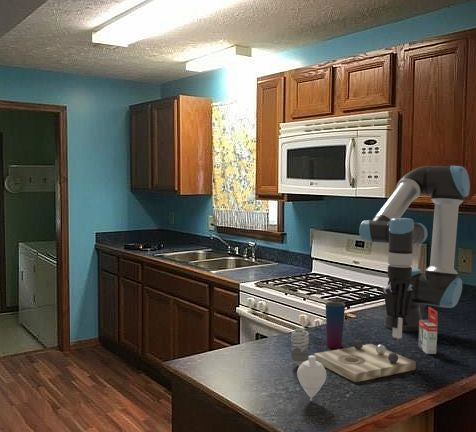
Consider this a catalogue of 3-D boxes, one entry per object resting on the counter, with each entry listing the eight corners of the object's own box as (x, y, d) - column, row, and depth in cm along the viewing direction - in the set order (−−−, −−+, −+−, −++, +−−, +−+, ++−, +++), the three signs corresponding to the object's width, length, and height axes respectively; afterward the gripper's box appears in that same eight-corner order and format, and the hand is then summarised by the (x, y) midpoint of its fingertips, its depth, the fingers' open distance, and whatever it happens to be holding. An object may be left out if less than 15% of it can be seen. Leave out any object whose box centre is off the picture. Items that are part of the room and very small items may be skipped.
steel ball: (381, 352, 174) (381, 342, 174) (388, 355, 171) (388, 345, 171) (373, 353, 172) (373, 343, 172) (380, 356, 170) (380, 346, 169)
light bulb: (287, 364, 168) (287, 327, 167) (302, 362, 170) (303, 325, 170) (296, 370, 163) (296, 332, 162) (311, 368, 165) (312, 330, 165)
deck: (371, 350, 183) (371, 343, 183) (415, 369, 165) (415, 361, 165) (313, 361, 172) (314, 353, 172) (354, 382, 154) (355, 373, 154)
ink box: (426, 354, 180) (427, 311, 179) (417, 346, 188) (418, 306, 187) (436, 354, 180) (438, 311, 180) (427, 346, 188) (429, 306, 187)
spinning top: (293, 403, 139) (294, 358, 138) (300, 393, 146) (301, 350, 145) (322, 408, 136) (323, 362, 135) (328, 397, 143) (329, 353, 142)
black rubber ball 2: (393, 360, 166) (393, 350, 166) (400, 363, 164) (400, 353, 163) (385, 361, 165) (386, 352, 165) (392, 364, 162) (393, 355, 162)
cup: (344, 349, 184) (345, 306, 183) (324, 348, 185) (325, 305, 184) (344, 343, 191) (345, 302, 190) (324, 342, 192) (325, 301, 191)
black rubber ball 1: (358, 347, 179) (358, 338, 179) (364, 349, 176) (364, 340, 176) (351, 348, 178) (351, 339, 177) (357, 350, 175) (357, 342, 175)
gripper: (406, 263, 179) (403, 332, 181) (376, 264, 173) (373, 336, 175) (423, 266, 173) (420, 338, 174) (393, 268, 167) (390, 342, 168)
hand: (397, 337), depth 174 cm, fingers closed
